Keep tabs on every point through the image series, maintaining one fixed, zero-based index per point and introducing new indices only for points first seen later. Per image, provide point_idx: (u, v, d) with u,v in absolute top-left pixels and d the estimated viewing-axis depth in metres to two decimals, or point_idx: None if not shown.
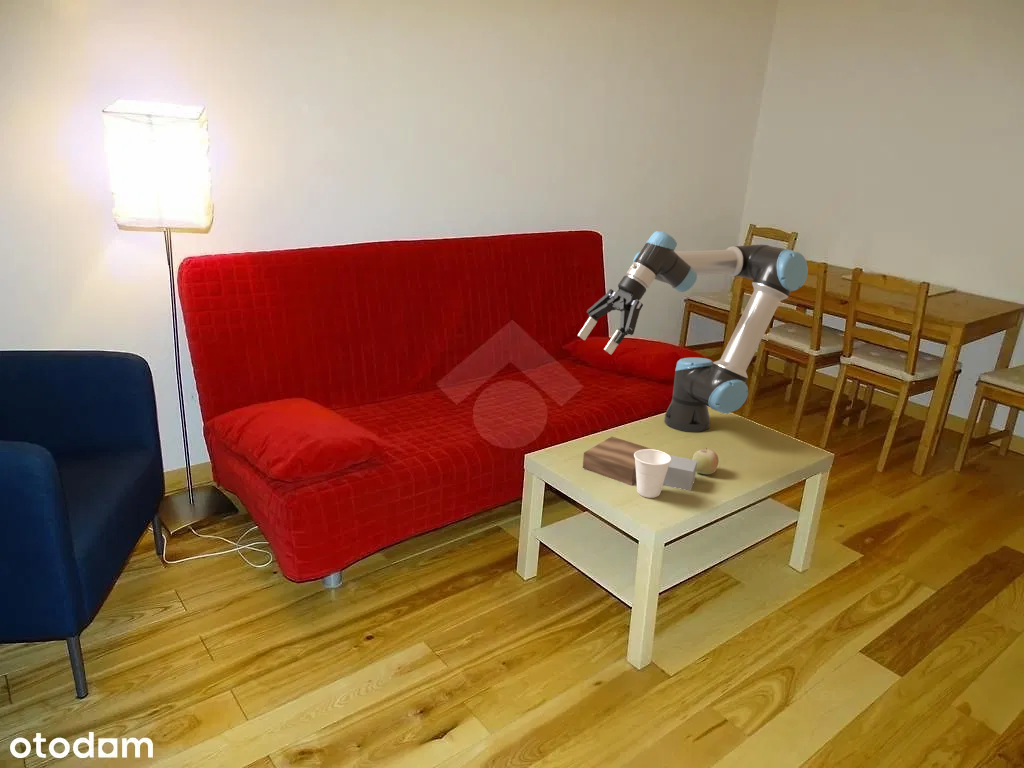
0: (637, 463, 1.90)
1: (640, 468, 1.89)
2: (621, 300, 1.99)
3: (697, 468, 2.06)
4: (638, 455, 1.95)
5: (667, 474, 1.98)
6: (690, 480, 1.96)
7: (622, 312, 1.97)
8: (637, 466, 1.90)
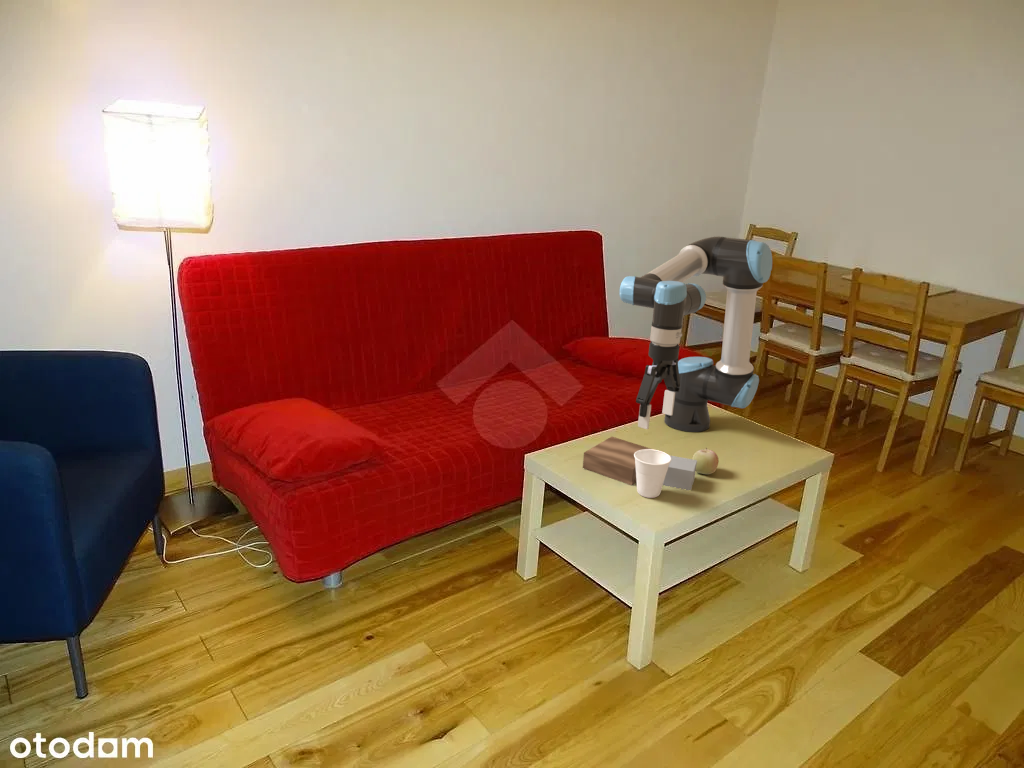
0: (637, 463, 1.90)
1: (640, 468, 1.89)
2: (671, 369, 1.83)
3: (697, 468, 2.06)
4: (638, 455, 1.95)
5: (667, 474, 1.98)
6: (690, 480, 1.96)
7: (671, 376, 1.87)
8: (637, 466, 1.90)
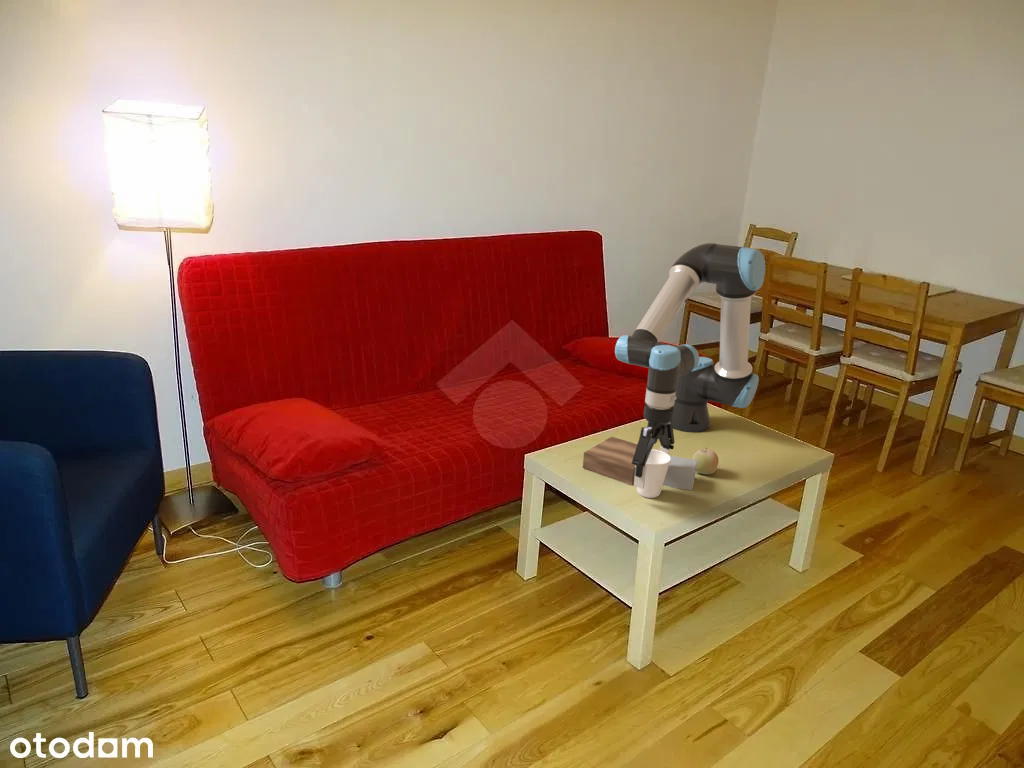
0: None
1: None
2: (665, 429, 1.88)
3: (697, 468, 2.06)
4: None
5: (668, 474, 1.98)
6: (691, 480, 1.96)
7: (666, 436, 1.92)
8: None
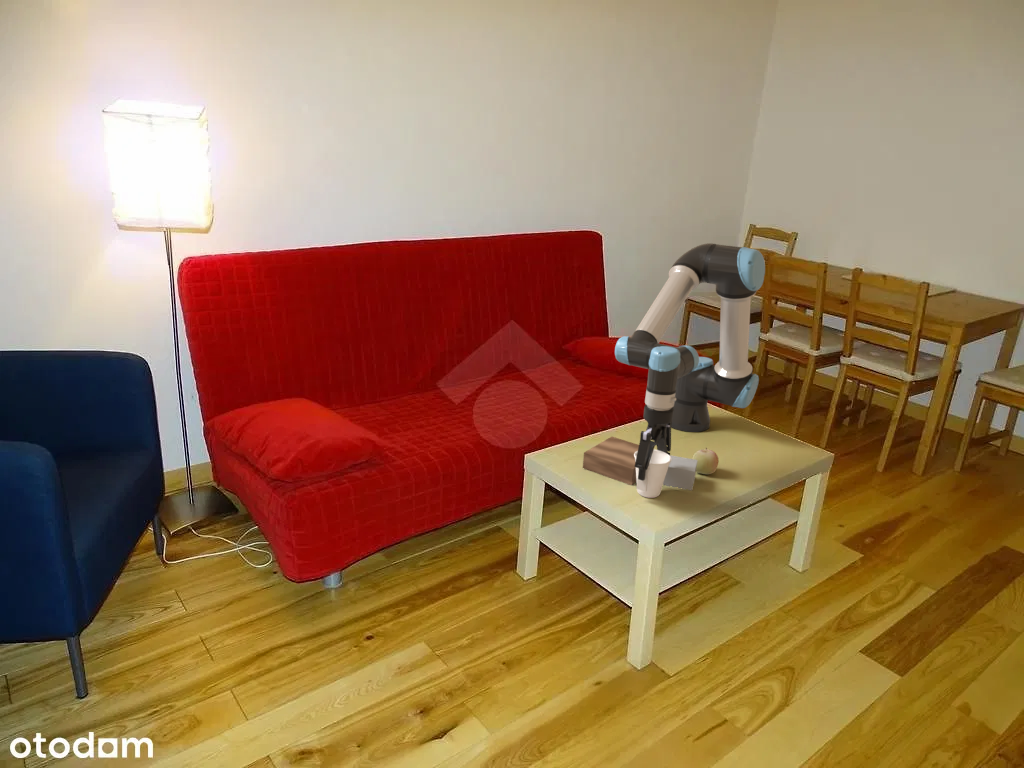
0: None
1: None
2: (665, 431, 1.88)
3: (697, 468, 2.06)
4: None
5: (668, 474, 1.98)
6: (692, 480, 1.96)
7: (664, 439, 1.91)
8: None
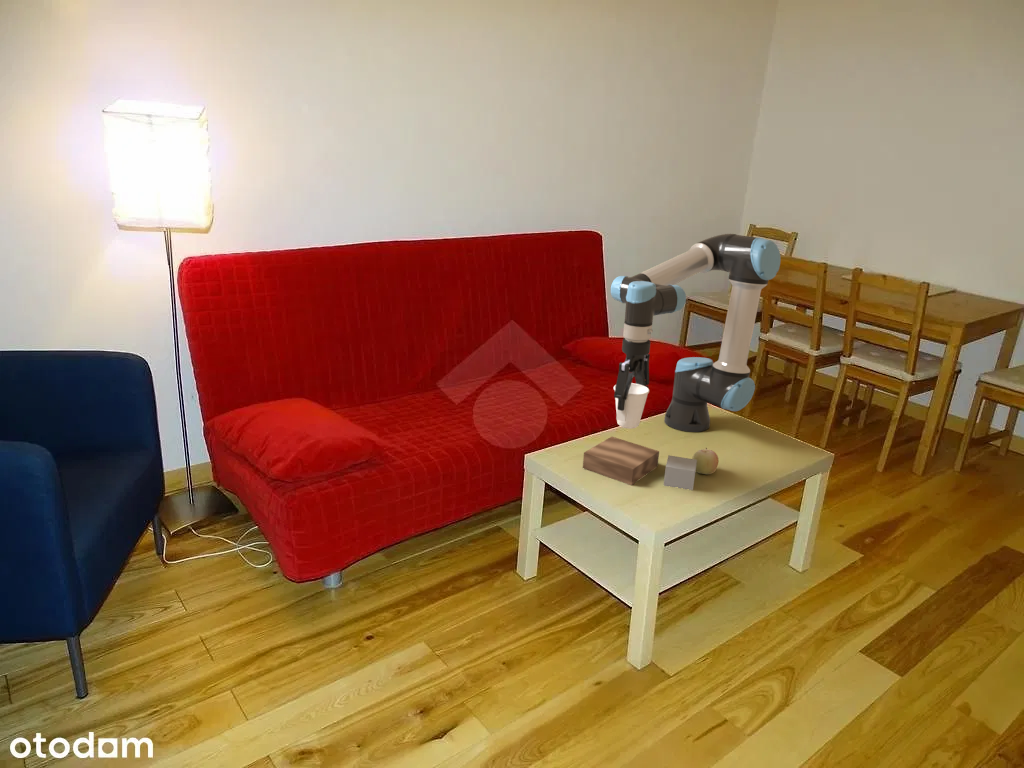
0: None
1: None
2: (643, 363, 1.97)
3: (697, 468, 2.06)
4: None
5: (669, 475, 1.98)
6: (692, 480, 1.96)
7: (642, 372, 2.00)
8: (617, 398, 1.99)
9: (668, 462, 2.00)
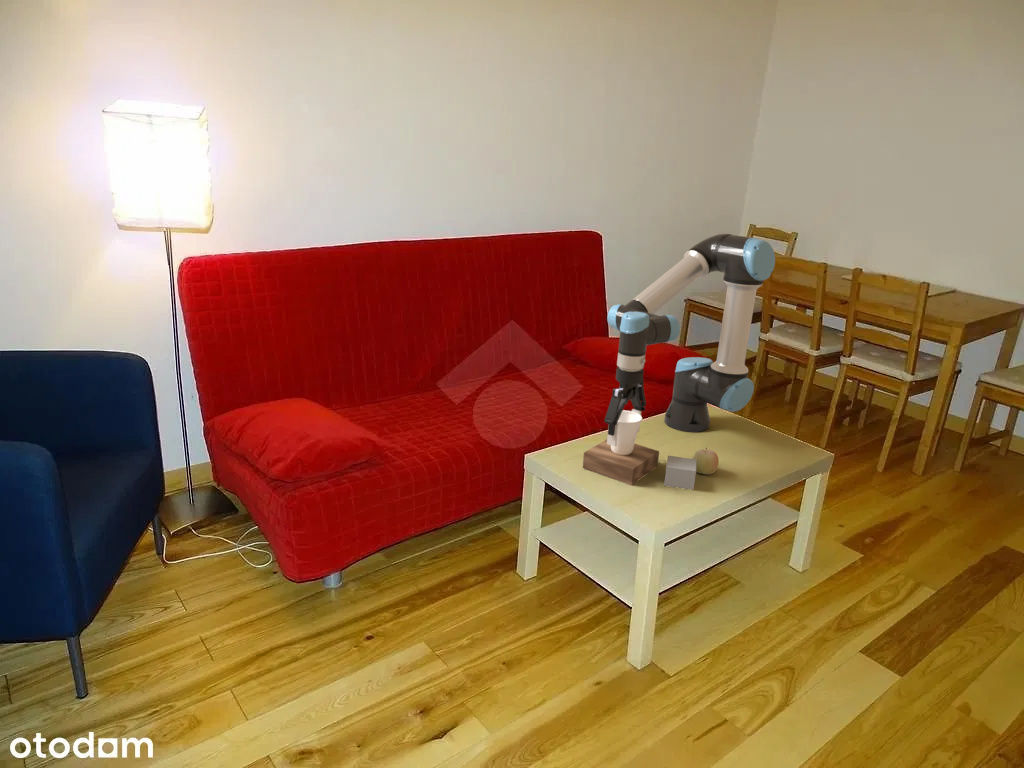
0: None
1: None
2: (636, 391, 2.02)
3: (697, 468, 2.06)
4: None
5: (670, 475, 1.98)
6: (693, 479, 1.97)
7: (637, 397, 2.05)
8: None
9: (668, 462, 2.00)
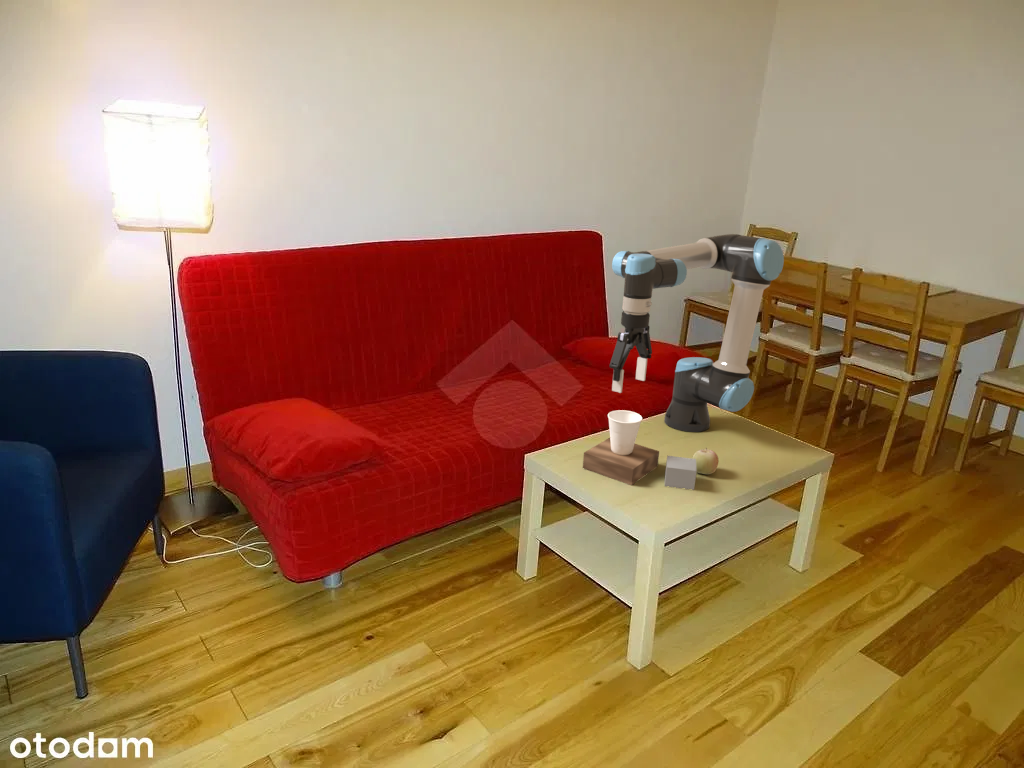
0: (610, 422, 2.03)
1: (613, 427, 2.03)
2: (642, 336, 1.96)
3: (697, 468, 2.06)
4: (612, 415, 2.08)
5: (670, 475, 1.98)
6: (693, 479, 1.97)
7: (643, 344, 2.00)
8: (610, 425, 2.04)
9: (668, 462, 2.00)
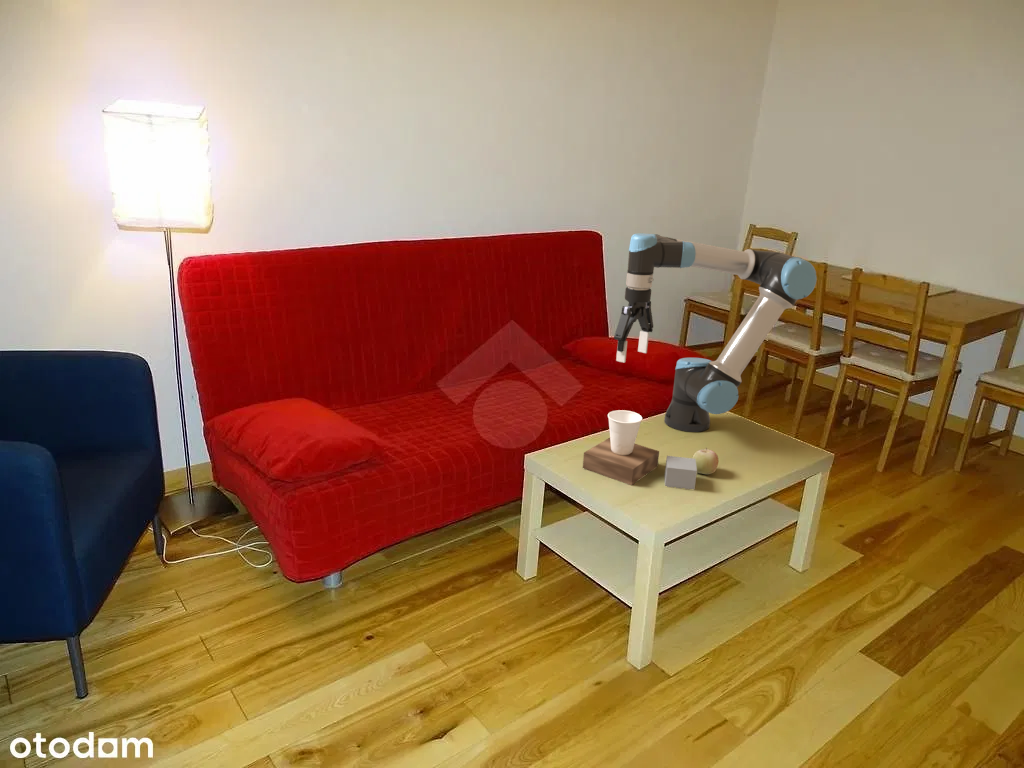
0: (610, 422, 2.03)
1: (613, 427, 2.03)
2: (644, 310, 2.12)
3: (697, 468, 2.06)
4: (612, 415, 2.08)
5: (671, 475, 1.98)
6: (694, 479, 1.97)
7: (645, 318, 2.15)
8: (610, 425, 2.04)
9: (668, 463, 2.00)
